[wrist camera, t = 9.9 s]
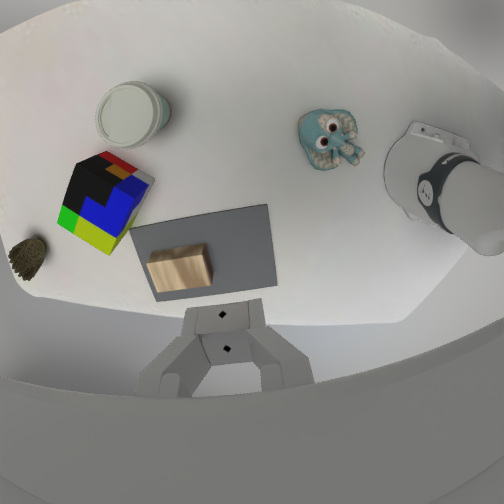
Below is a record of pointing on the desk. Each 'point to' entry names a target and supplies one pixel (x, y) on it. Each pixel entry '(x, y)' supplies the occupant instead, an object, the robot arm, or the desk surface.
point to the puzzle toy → (103, 200)
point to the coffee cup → (131, 115)
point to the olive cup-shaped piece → (27, 257)
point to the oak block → (181, 268)
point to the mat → (216, 249)
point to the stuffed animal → (329, 138)
